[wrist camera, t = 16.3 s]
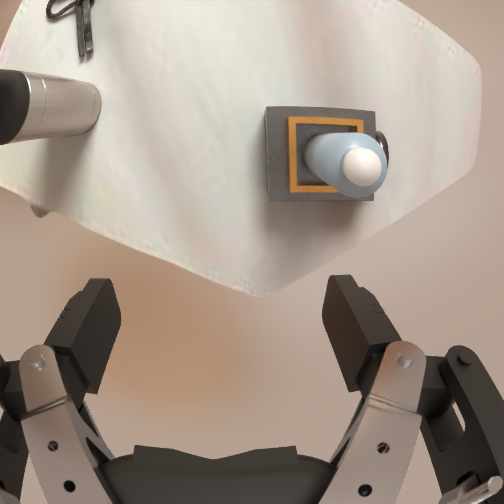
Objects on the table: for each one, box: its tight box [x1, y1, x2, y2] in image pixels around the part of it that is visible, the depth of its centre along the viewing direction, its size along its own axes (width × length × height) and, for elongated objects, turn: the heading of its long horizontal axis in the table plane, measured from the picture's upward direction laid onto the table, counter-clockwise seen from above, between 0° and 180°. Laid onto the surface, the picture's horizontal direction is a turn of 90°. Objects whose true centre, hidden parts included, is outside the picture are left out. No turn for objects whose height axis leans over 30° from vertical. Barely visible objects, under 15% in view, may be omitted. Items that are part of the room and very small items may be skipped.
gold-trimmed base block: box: [265, 106, 389, 201], centre depth 36 cm, size 16×12×8 cm
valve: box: [46, 0, 93, 57], centre depth 27 cm, size 6×26×15 cm
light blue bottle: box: [303, 133, 387, 198], centre depth 27 cm, size 6×6×15 cm
